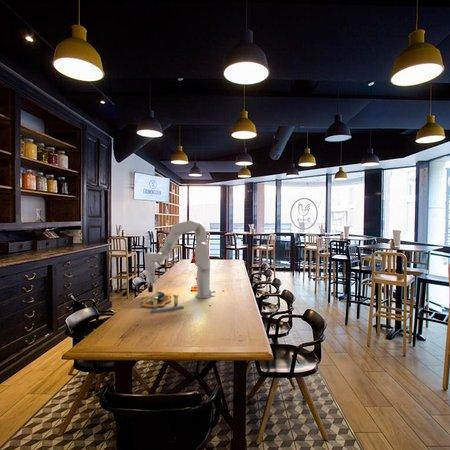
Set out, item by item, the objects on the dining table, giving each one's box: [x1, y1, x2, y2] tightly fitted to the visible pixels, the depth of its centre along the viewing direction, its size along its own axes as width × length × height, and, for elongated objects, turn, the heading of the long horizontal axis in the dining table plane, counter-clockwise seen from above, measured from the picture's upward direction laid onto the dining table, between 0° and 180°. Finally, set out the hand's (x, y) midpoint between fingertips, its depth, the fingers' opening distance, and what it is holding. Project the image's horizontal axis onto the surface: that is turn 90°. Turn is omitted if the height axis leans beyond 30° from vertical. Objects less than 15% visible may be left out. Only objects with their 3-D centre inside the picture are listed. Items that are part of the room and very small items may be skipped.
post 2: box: [172, 293, 180, 306], centre depth 209 cm, size 4×4×9 cm
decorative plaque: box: [140, 291, 172, 309], centre depth 223 cm, size 30×7×20 cm
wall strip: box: [149, 304, 185, 314], centre depth 203 cm, size 22×3×2 cm, turn 118°
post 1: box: [152, 297, 158, 309], centre depth 202 cm, size 4×4×9 cm
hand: (150, 292), depth 240 cm, fingers closed
